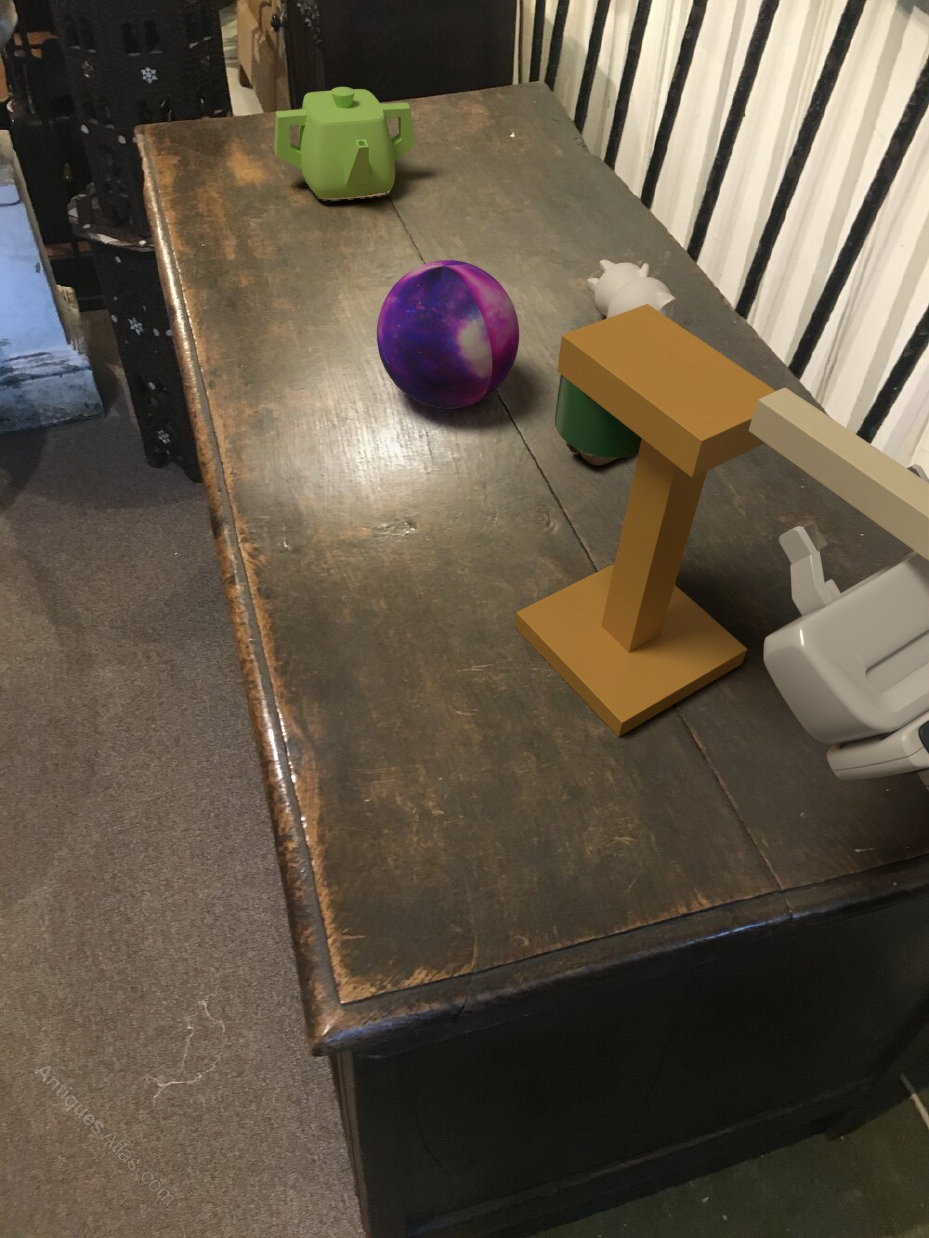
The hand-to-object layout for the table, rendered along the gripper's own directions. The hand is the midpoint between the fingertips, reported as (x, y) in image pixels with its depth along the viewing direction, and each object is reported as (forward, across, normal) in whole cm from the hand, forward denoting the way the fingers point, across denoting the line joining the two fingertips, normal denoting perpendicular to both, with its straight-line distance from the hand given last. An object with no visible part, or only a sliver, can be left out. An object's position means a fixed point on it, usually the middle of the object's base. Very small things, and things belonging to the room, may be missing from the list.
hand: (848, 498), depth 57 cm
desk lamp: (0, 0, +31) cm, 31 cm away
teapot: (+74, -23, +74) cm, 107 cm away
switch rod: (0, 0, -1) cm, 1 cm away
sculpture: (+17, -18, +41) cm, 48 cm away
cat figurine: (+31, -34, +49) cm, 67 cm away
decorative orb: (+32, -7, +49) cm, 59 cm away
